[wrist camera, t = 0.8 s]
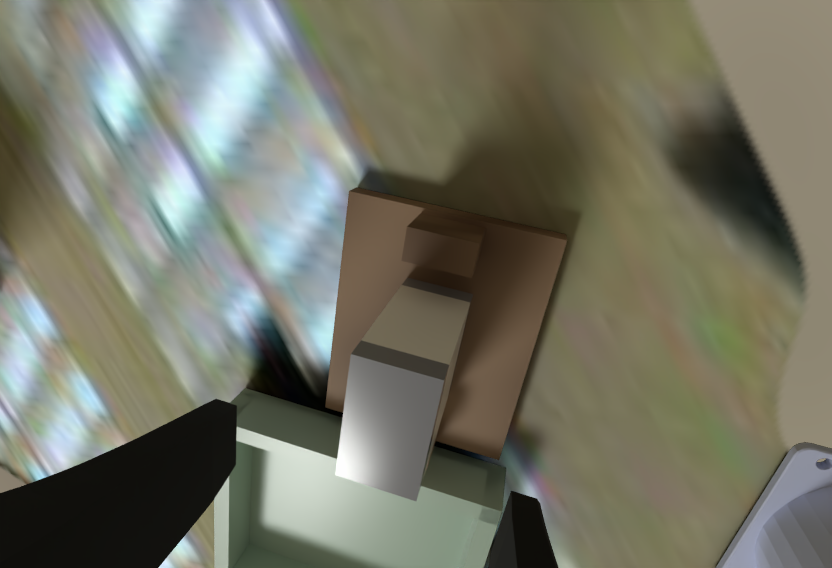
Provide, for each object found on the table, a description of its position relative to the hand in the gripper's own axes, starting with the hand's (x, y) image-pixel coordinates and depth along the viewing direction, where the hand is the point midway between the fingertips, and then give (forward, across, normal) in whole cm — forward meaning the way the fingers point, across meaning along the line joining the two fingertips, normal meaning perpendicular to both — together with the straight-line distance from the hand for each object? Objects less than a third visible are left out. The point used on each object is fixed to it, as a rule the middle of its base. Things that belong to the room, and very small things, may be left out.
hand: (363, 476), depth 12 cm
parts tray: (+9, +2, +12) cm, 14 cm away
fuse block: (+9, 0, 0) cm, 9 cm away
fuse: (+8, 0, 0) cm, 8 cm away
